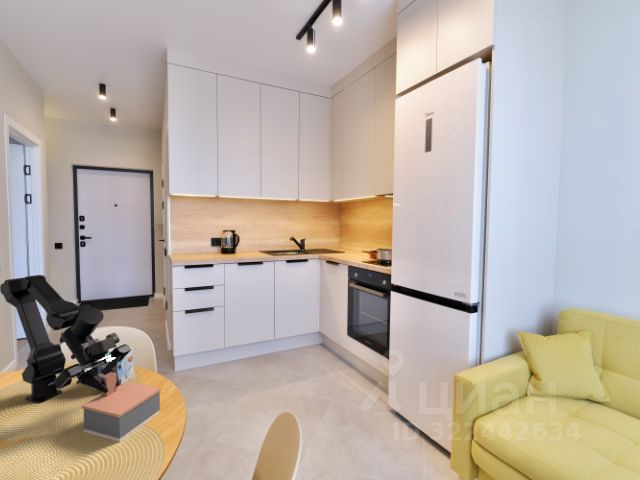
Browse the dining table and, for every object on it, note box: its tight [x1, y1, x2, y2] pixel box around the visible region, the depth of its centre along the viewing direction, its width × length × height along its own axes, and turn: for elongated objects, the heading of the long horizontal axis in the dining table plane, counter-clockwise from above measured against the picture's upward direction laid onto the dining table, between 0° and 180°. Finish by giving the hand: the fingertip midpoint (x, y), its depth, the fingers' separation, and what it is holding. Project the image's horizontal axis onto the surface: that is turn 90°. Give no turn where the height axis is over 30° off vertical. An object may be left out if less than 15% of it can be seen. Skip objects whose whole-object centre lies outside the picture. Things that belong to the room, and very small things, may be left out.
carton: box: [83, 391, 161, 443], centre depth 88 cm, size 12×13×6 cm
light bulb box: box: [92, 345, 135, 391], centre depth 109 cm, size 11×7×11 cm, turn 168°
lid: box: [81, 372, 161, 418], centre depth 88 cm, size 12×13×6 cm
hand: (112, 389), depth 89 cm, fingers closed on lid, 3 cm apart
